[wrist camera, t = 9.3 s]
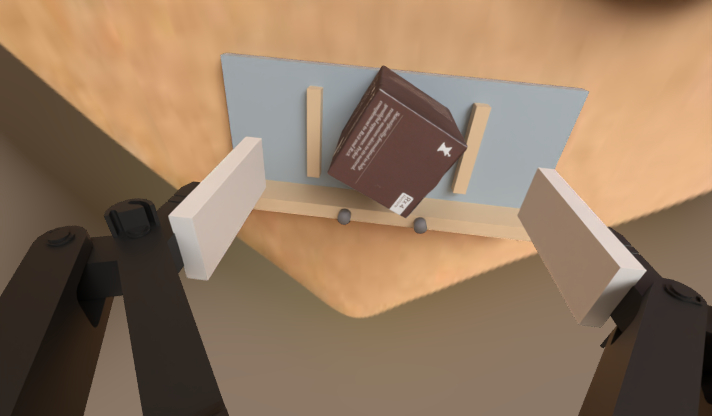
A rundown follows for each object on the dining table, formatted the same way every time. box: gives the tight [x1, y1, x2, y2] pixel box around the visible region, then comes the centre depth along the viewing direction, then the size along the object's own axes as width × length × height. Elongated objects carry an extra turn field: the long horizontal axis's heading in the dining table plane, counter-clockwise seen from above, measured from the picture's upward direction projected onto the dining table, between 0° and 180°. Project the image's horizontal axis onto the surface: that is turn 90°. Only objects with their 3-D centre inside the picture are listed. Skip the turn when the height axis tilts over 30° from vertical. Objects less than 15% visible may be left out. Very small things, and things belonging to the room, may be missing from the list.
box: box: [327, 66, 468, 218], centre depth 22 cm, size 6×6×7 cm
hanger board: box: [221, 53, 589, 242], centre depth 25 cm, size 11×26×5 cm, turn 85°
